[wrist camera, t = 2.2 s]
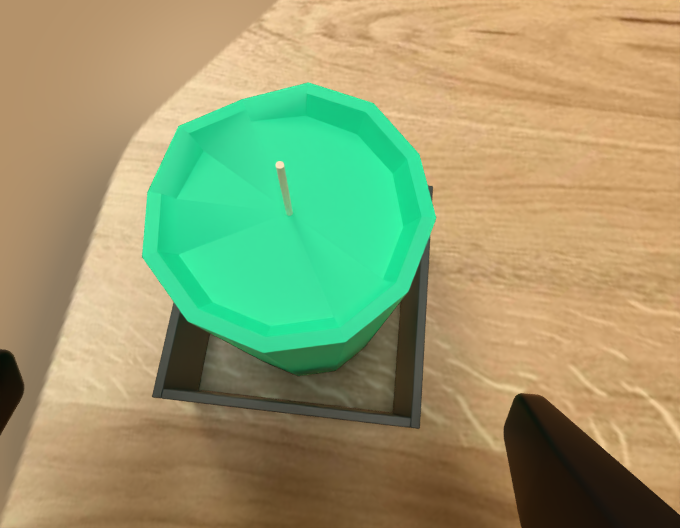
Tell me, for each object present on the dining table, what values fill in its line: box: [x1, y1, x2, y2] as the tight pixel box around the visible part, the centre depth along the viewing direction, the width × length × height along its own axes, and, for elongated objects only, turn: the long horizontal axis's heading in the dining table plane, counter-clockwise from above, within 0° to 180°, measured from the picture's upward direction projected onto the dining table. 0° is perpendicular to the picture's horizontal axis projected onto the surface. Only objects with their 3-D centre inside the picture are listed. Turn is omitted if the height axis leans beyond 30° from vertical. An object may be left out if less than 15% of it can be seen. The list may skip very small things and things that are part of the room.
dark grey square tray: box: [152, 186, 433, 429], centre depth 17 cm, size 9×9×4 cm
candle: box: [142, 82, 436, 376], centre depth 13 cm, size 6×6×12 cm
